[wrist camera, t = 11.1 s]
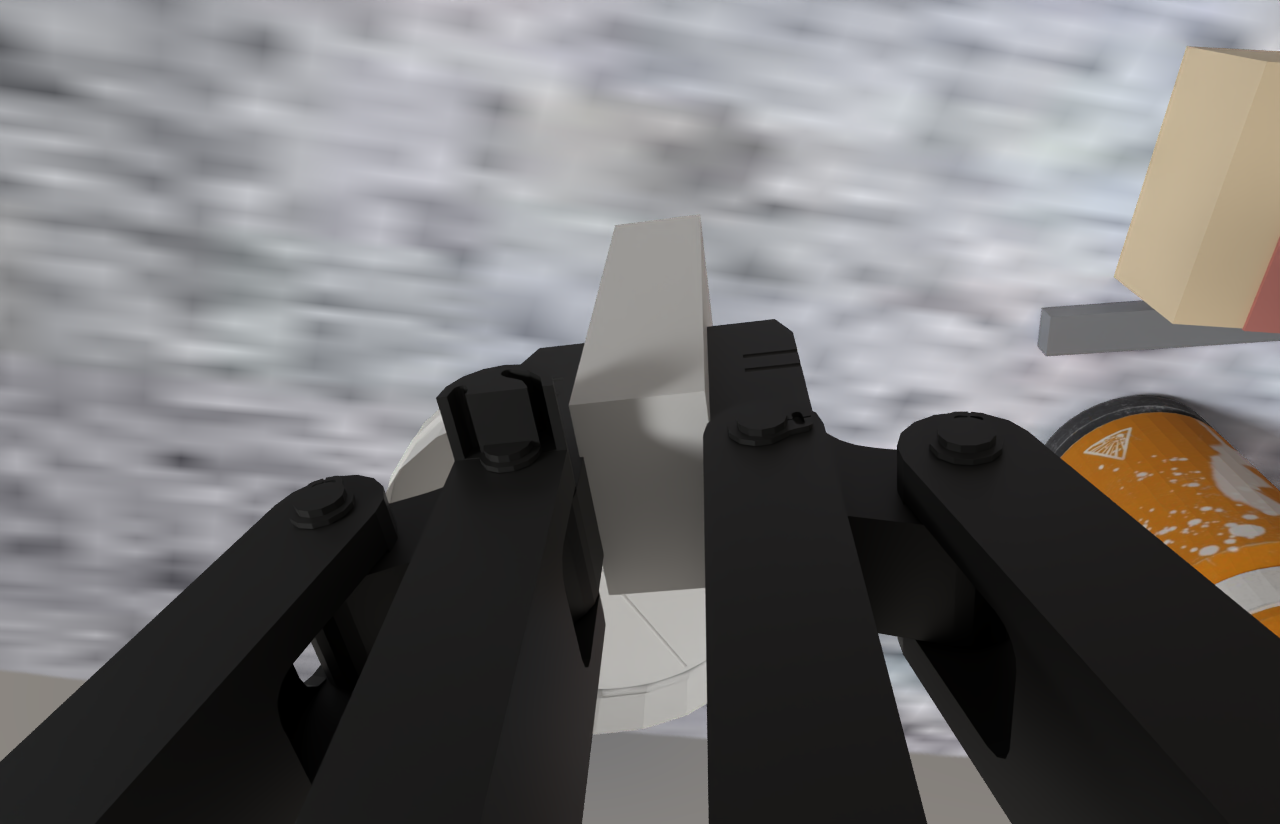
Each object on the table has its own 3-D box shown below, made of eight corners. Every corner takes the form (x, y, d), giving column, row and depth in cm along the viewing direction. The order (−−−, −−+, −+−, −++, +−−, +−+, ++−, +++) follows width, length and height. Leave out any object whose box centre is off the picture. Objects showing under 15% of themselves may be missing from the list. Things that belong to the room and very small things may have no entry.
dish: (849, 580, 50) (862, 640, 46) (551, 720, 57) (538, 784, 53) (627, 277, 42) (617, 314, 38) (315, 482, 50) (277, 534, 45)
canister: (1248, 451, 44) (1607, 781, 26) (1080, 586, 49) (1290, 944, 31) (1124, 356, 42) (1422, 644, 25) (961, 506, 47) (1114, 839, 29)
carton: (1185, 44, 36) (1270, 60, 30) (1383, 55, 36) (1505, 73, 30) (1111, 276, 41) (1173, 326, 35) (1286, 287, 40) (1376, 339, 35)
